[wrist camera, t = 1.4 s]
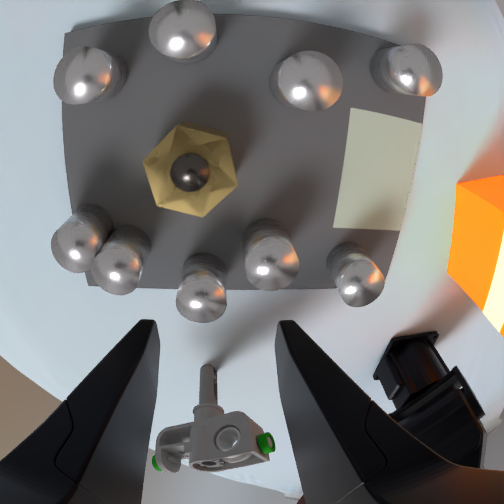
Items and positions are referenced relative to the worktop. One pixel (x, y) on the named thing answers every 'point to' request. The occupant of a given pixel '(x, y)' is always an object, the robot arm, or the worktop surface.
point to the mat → (248, 147)
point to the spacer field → (258, 232)
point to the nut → (191, 169)
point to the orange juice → (480, 245)
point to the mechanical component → (212, 436)
